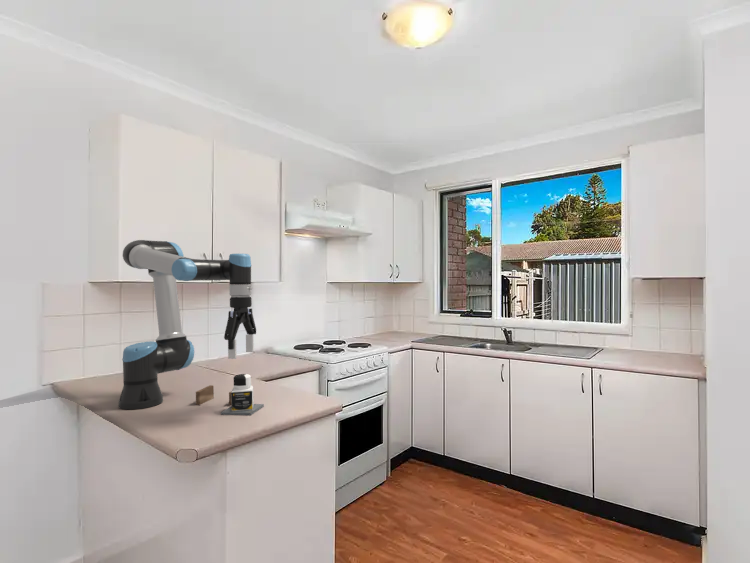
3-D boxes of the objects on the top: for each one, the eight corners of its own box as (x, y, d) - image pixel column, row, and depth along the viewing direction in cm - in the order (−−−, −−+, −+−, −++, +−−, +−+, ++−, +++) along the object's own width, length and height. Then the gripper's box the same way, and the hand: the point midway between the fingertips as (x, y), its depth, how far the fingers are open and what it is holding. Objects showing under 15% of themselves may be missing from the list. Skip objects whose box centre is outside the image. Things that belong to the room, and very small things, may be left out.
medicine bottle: (231, 411, 154) (230, 377, 154) (233, 406, 161) (232, 373, 161) (252, 410, 156) (251, 376, 156) (253, 404, 163) (253, 372, 163)
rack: (196, 404, 167) (195, 391, 167) (210, 397, 177) (209, 385, 177) (233, 405, 164) (232, 392, 164) (245, 398, 174) (245, 386, 174)
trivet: (221, 414, 154) (221, 412, 154) (236, 405, 165) (236, 403, 165) (250, 415, 152) (250, 413, 152) (263, 406, 163) (263, 404, 163)
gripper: (233, 298, 145) (234, 361, 146) (264, 294, 170) (265, 349, 170) (212, 298, 147) (213, 361, 147) (246, 295, 171) (247, 349, 171)
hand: (241, 355), depth 159 cm, fingers open, 13 cm apart
